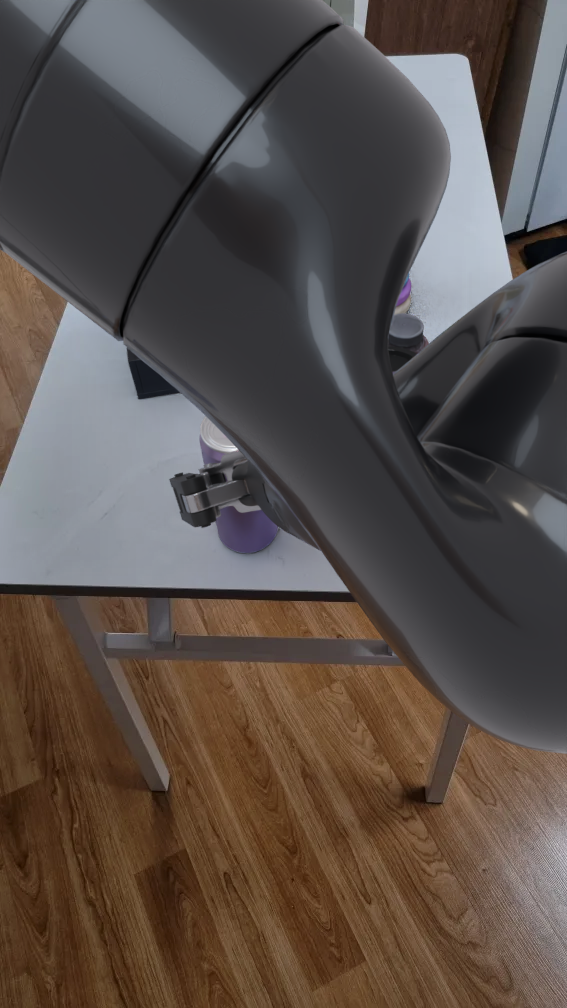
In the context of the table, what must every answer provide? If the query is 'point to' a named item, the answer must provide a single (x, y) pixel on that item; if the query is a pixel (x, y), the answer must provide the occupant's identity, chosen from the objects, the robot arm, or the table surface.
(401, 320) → the supplement bottle
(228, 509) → the beverage can
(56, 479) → the table surface
